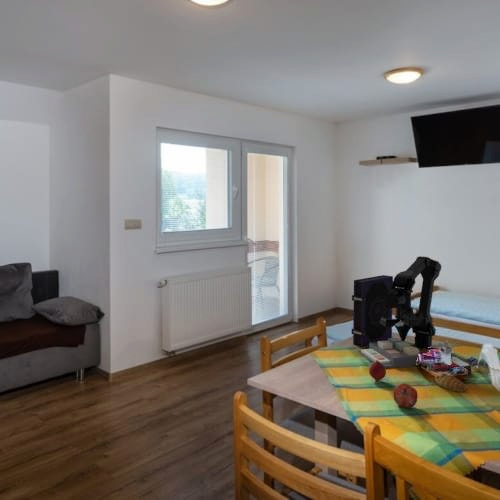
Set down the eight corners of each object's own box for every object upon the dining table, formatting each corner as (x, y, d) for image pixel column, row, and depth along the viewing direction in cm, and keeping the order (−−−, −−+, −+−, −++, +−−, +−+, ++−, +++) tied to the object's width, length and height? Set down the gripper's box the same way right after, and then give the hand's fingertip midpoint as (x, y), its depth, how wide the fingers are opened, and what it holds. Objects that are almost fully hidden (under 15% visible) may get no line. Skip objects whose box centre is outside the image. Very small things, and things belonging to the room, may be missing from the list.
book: (381, 334, 229) (382, 274, 226) (392, 337, 224) (393, 276, 221) (351, 344, 214) (352, 280, 211) (362, 347, 209) (363, 281, 206)
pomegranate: (393, 407, 152) (386, 397, 145) (400, 386, 155) (394, 376, 148) (416, 415, 148) (410, 406, 141) (422, 393, 150) (417, 383, 143)
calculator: (419, 359, 183) (454, 355, 185) (419, 369, 183) (455, 365, 185) (434, 368, 172) (471, 364, 174) (434, 379, 172) (471, 375, 174)
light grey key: (387, 347, 199) (387, 340, 198) (392, 350, 194) (392, 343, 194) (377, 348, 198) (377, 341, 198) (382, 351, 193) (382, 344, 193)
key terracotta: (394, 356, 193) (394, 349, 192) (400, 359, 188) (400, 352, 188) (384, 357, 192) (385, 350, 191) (390, 360, 187) (390, 353, 187)
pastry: (470, 390, 160) (470, 379, 160) (459, 394, 157) (459, 384, 156) (445, 381, 168) (446, 371, 168) (434, 386, 164) (434, 375, 164)
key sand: (412, 353, 190) (413, 346, 190) (418, 356, 186) (419, 349, 186) (403, 354, 190) (403, 346, 189) (408, 357, 185) (409, 350, 185)
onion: (386, 379, 170) (387, 358, 169) (384, 385, 165) (384, 363, 164) (370, 377, 172) (370, 356, 172) (367, 382, 167) (368, 361, 166)
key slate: (397, 344, 203) (397, 337, 203) (402, 347, 199) (402, 340, 198) (387, 345, 202) (388, 338, 202) (392, 348, 198) (393, 341, 198)
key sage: (404, 348, 197) (404, 341, 196) (410, 351, 192) (410, 344, 192) (395, 349, 196) (395, 342, 196) (400, 352, 192) (400, 345, 191)
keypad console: (397, 349, 205) (397, 340, 205) (424, 365, 185) (424, 355, 185) (357, 352, 202) (357, 343, 201) (380, 368, 181) (380, 359, 181)
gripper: (392, 309, 183) (392, 348, 184) (435, 307, 186) (434, 345, 188) (379, 304, 194) (378, 340, 195) (420, 301, 197) (419, 337, 199)
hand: (403, 340), depth 194 cm, fingers closed
